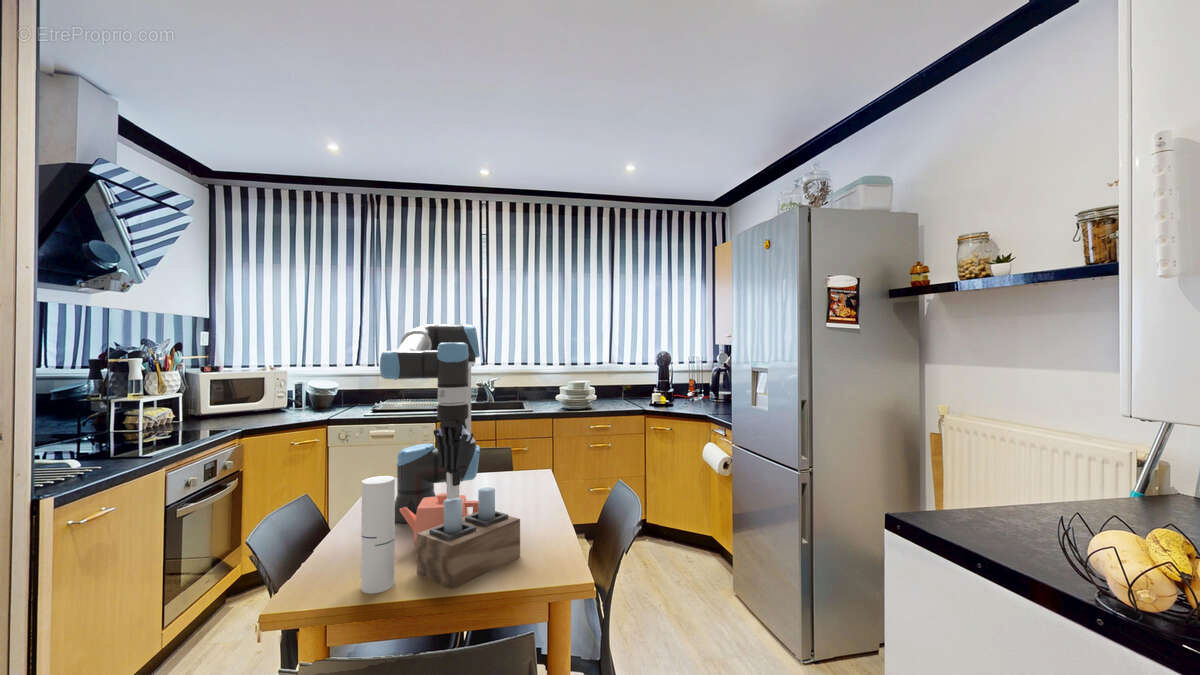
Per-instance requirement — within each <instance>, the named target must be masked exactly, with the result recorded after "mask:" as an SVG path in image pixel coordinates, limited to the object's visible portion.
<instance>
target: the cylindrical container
mask: <svg viewBox="0 0 1200 675" xmlns="http://www.w3.org/2000/svg"><path fill="white" fill-rule="evenodd" d="M395 479H396V478H395V476H391V475H378V476H372V477H368V478H365V479H362V480H361V556H360V558H361V562H360V563H361V567H360V568H361V573H360V574H361V582H360V584H361V586H360V587H361V588H360V590H361V592H362V593H364V594H378V593H379V594H380V593H382V592H385V591H388V590H390V589H391V588H392V587H394V585H395V567H396V566H395V543H396V542H395V540H396V539H395V536H396V535H395V534H396V533H395V532H396V530H395V525H396V524H395V523H396V522H395V500H396V490H395V489H396V488H395V487H396V480H395Z"/></svg>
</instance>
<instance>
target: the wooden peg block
mask: <svg viewBox="0 0 1200 675" xmlns="http://www.w3.org/2000/svg"><path fill="white" fill-rule="evenodd" d="M520 557H521V518H518V517H515V516H510V515H509V514H508V513H504V512H499V511H496V510H495V518H494V519H491V520H488V521H483V520H479V519H478V512H476V513H473V512H472V513H470V514H468V515H467V516H465V517H462V531H459V532H457V533H454V534H451V535H450V534H447V533H444V524H442V525H439V526H436V527H433V528H430V529H428V530H425V531H422V532H419V533H417V547H416V574H417V575H419V576H421V577H424V578H426V579H428V580H431V581H432V582H435V583H437V584H439V585H442V586H443V587H446V588H448V589H451V590H454V589H456V588H459V587H462V585H465V584H467V583H469V582H471V581H473V580H476V579H477V578H479V577H481V576H483V575H485V574H487V573H489V572H491V571H493V570H495V569H497V568H500V567H502V566H504V565H505V564H508V563H509V562H512V561H513V560H516V559H518V558H520Z"/></svg>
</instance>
